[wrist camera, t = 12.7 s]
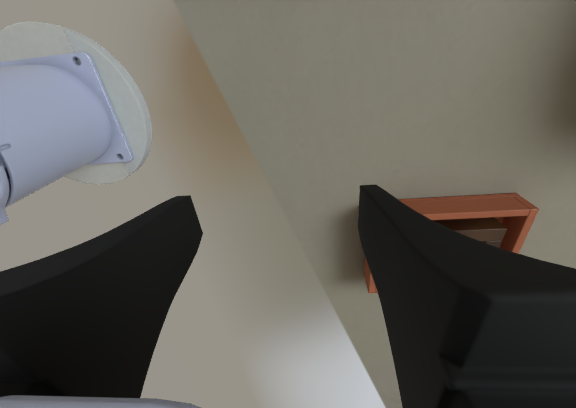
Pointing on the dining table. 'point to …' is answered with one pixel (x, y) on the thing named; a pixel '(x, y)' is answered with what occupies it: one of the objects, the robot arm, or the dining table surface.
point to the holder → (501, 206)
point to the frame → (478, 229)
